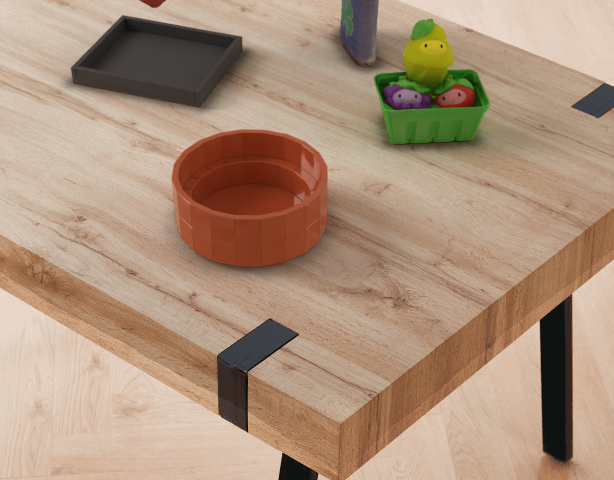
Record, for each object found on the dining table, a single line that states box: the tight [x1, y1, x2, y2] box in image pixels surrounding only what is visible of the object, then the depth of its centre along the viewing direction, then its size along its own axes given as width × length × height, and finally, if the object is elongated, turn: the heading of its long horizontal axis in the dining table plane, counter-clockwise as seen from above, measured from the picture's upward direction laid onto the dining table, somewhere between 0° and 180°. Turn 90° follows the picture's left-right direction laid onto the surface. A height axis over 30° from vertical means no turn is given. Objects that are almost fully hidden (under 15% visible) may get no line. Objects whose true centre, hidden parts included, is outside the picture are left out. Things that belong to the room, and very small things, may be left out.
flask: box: [339, 0, 380, 68], centre depth 126 cm, size 9×3×11 cm, turn 16°
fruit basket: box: [373, 18, 491, 145], centre depth 113 cm, size 11×9×11 cm
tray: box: [70, 14, 244, 109], centre depth 123 cm, size 15×13×2 cm
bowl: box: [170, 128, 329, 267], centre depth 101 cm, size 14×14×6 cm
